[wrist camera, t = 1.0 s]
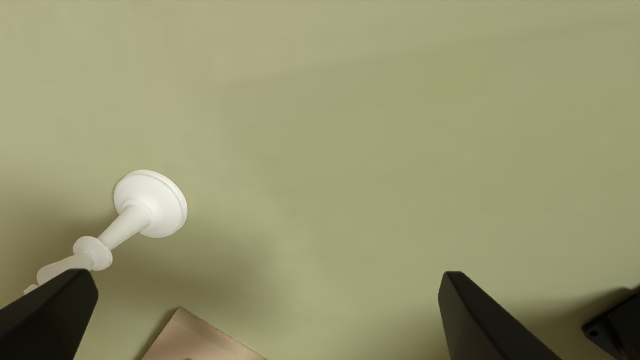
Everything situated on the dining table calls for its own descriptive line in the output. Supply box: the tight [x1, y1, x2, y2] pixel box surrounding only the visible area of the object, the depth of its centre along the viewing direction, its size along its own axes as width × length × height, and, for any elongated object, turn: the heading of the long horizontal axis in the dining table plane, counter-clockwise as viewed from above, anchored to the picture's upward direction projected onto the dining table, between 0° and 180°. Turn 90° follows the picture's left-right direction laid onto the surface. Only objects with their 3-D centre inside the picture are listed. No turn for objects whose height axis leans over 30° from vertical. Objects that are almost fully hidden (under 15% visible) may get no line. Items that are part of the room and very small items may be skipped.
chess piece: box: [23, 170, 188, 295], centre depth 20 cm, size 5×5×10 cm
